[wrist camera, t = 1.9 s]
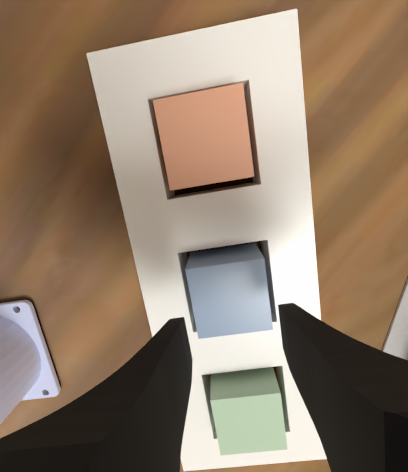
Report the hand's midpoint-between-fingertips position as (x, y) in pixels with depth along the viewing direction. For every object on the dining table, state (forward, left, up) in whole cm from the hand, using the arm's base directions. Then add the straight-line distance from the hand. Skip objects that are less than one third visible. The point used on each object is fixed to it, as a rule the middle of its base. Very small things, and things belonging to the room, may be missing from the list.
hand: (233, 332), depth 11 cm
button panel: (0, 0, -7) cm, 7 cm away
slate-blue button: (0, 0, -6) cm, 6 cm away
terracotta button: (0, +8, -6) cm, 10 cm away
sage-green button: (0, -8, -6) cm, 10 cm away
